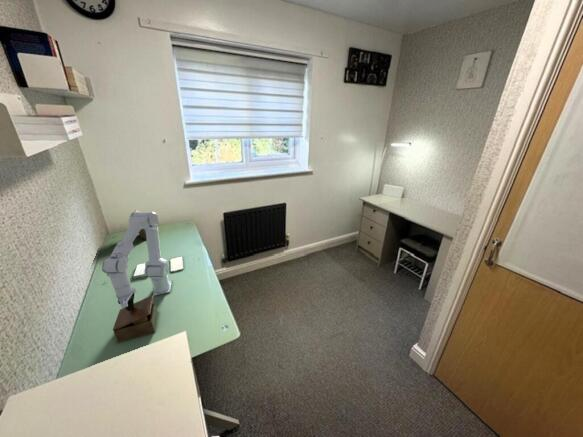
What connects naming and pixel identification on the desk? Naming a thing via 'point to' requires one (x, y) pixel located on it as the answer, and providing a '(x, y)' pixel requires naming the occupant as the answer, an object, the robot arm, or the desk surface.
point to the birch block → (141, 320)
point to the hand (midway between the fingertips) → (130, 309)
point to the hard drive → (139, 271)
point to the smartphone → (176, 264)
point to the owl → (142, 232)
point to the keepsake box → (138, 327)
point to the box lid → (134, 313)
